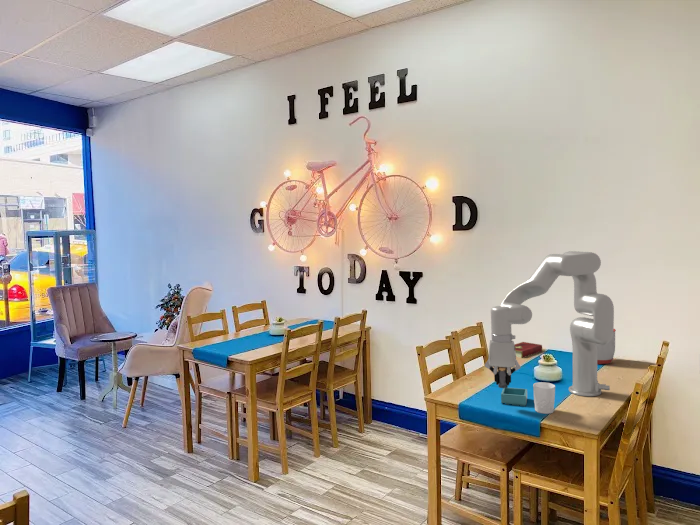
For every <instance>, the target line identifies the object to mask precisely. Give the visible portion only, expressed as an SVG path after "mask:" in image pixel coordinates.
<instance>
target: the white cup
mask: <svg viewBox="0 0 700 525" xmlns="http://www.w3.org/2000/svg"><path fill="white" fill-rule="evenodd" d="M532 387H533V388H532V389H533V403H534V410H535V412H537V413H538V414H545V415H549V414H550V415H551V414H553V413H554V410H555V399H556V397H555V396H556V385H555V384H553V383H550V382H545V381H543V382H542V381H541V382H535V383H533V385H532Z"/></svg>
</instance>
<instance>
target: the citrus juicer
mask: <svg viewBox="0 0 700 525" xmlns="http://www.w3.org/2000/svg"><path fill="white" fill-rule="evenodd" d="M595 345H596V348H597V365H605V364H606V365H607V364H611V363H612V362H613V360H614V356H615V352H616V329H615V328H614V330H613V337H612V339H611V341H610V342H609V343H607V344H604V345H601V344H596V343H595Z"/></svg>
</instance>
